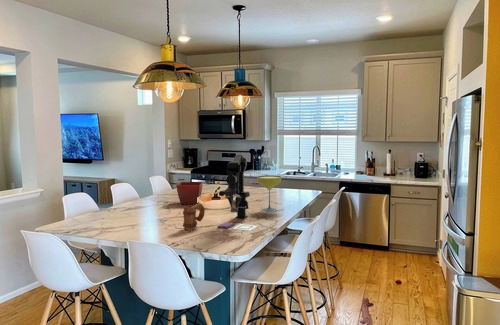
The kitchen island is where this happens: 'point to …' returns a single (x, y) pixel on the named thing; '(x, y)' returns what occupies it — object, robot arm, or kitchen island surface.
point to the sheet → (245, 227)
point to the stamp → (234, 206)
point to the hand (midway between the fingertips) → (234, 207)
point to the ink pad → (226, 225)
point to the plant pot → (189, 192)
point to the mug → (192, 216)
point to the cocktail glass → (269, 185)
